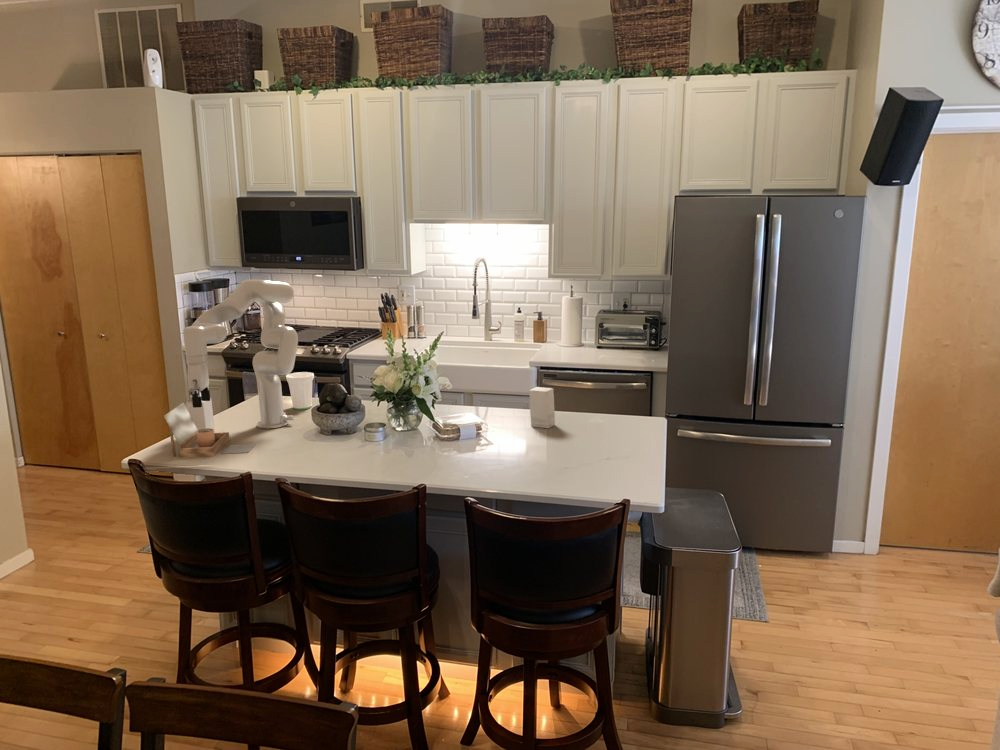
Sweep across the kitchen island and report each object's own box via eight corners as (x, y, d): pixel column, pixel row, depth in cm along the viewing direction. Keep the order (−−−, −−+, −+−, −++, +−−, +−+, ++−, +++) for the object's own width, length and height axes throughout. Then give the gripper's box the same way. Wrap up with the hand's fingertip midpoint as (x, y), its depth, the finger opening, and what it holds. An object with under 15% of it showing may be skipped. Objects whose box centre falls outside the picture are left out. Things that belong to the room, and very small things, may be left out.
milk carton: (215, 433, 308) (210, 388, 304) (206, 438, 301) (201, 392, 297) (198, 433, 309) (193, 388, 305) (190, 438, 302) (184, 392, 298)
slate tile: (255, 445, 291) (255, 444, 291) (248, 453, 281) (248, 452, 281) (228, 446, 290) (228, 445, 290) (221, 454, 280) (220, 453, 280)
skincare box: (555, 425, 308) (555, 388, 305) (547, 429, 303) (547, 391, 300) (537, 422, 313) (537, 386, 309) (529, 426, 307) (528, 389, 304)
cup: (315, 410, 341) (312, 377, 338) (286, 411, 340) (283, 378, 337) (317, 403, 353) (315, 371, 350) (290, 404, 352) (287, 372, 349)
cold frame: (229, 440, 298) (225, 400, 294) (213, 456, 278) (209, 414, 275) (187, 442, 297) (182, 402, 293) (168, 458, 278) (163, 415, 274)
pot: (217, 445, 291) (215, 427, 289) (212, 450, 285) (210, 432, 283) (201, 446, 291) (199, 428, 289) (196, 450, 285) (194, 432, 283)
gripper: (194, 355, 289) (199, 398, 292) (178, 364, 272) (183, 410, 275) (214, 354, 289) (219, 398, 292) (199, 363, 272) (204, 409, 276)
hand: (201, 404), depth 284 cm, fingers open, 9 cm apart
